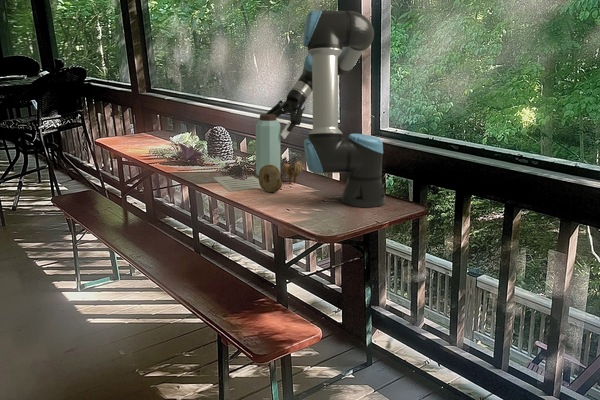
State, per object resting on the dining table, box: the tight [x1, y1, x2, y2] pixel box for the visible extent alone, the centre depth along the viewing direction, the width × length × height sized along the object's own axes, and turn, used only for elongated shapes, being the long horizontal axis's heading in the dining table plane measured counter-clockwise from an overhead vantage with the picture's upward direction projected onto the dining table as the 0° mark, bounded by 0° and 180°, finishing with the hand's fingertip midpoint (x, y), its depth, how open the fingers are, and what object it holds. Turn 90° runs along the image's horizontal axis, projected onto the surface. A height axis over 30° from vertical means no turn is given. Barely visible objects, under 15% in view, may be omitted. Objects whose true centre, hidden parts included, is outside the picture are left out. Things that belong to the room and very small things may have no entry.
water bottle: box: [255, 113, 281, 177], centre depth 232 cm, size 10×10×25 cm
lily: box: [176, 142, 205, 167], centre depth 253 cm, size 12×12×10 cm
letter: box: [212, 174, 262, 192], centre depth 225 cm, size 22×16×1 cm
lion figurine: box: [280, 161, 305, 185], centre depth 226 cm, size 15×5×9 cm, turn 35°
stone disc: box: [258, 165, 283, 193], centre depth 211 cm, size 10×4×10 cm, turn 46°
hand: (271, 134), depth 233 cm, fingers open, 13 cm apart
